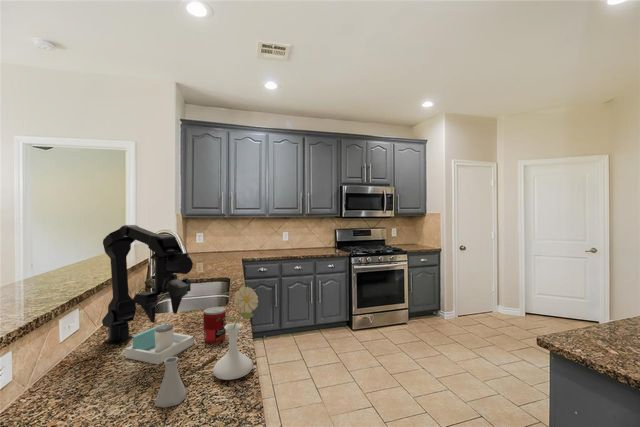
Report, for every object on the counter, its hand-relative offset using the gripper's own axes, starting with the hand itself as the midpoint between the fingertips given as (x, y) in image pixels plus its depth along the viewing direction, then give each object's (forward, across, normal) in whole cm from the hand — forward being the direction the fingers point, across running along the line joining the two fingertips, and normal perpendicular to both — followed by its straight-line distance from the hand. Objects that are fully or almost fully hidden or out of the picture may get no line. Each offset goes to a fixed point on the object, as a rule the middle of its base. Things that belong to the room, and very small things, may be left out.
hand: (164, 317), depth 100 cm
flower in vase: (+12, -4, -32) cm, 34 cm away
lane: (+11, 0, +3) cm, 12 cm away
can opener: (+12, -3, -19) cm, 23 cm away
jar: (+11, 0, 0) cm, 11 cm away
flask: (+12, -20, -24) cm, 33 cm away
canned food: (+12, +14, -10) cm, 21 cm away
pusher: (+11, 0, +6) cm, 12 cm away
